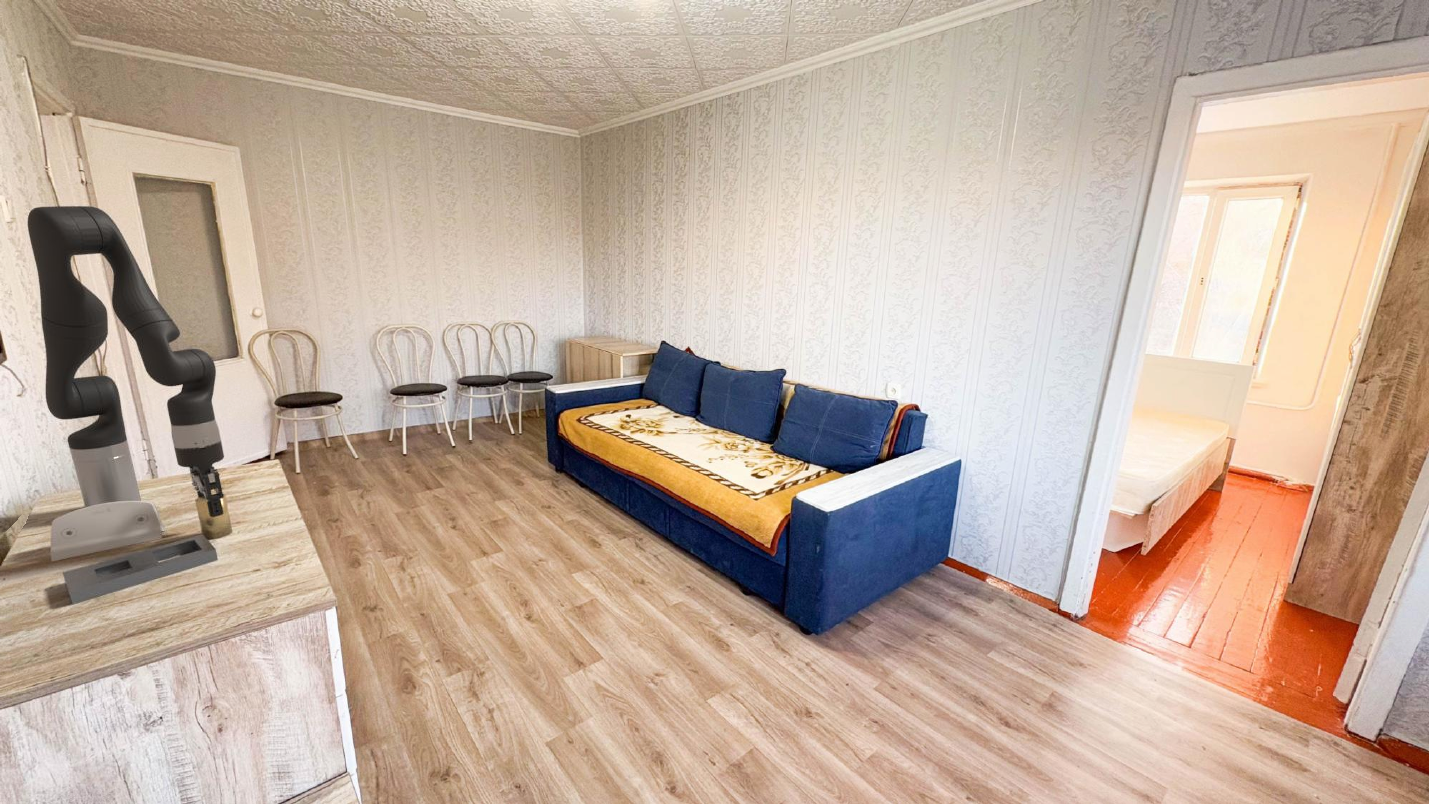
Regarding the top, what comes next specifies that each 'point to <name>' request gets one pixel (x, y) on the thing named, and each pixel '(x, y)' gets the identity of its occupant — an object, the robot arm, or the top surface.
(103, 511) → the grey curved housing
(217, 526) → the cylinder
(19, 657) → the top surface
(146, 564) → the grey flat block
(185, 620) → the top surface
